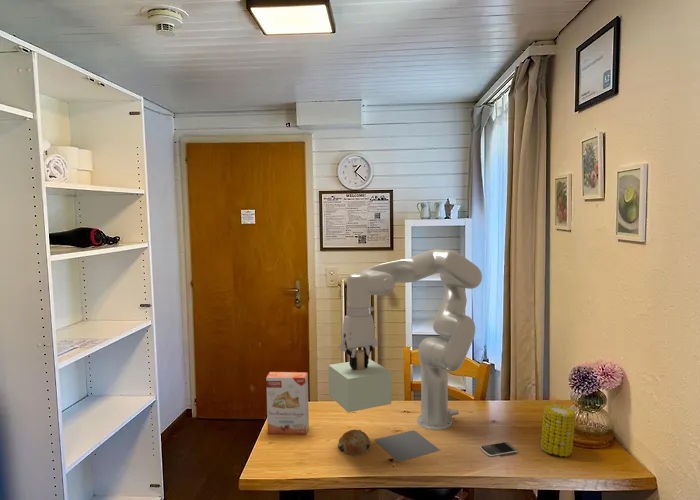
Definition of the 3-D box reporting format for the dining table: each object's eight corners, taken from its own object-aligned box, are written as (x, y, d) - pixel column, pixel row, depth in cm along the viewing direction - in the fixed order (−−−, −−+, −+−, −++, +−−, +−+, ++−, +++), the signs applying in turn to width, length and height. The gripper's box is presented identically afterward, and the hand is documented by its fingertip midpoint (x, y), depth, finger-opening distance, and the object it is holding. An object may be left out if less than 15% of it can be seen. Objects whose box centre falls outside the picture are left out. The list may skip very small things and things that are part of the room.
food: (535, 452, 155) (559, 448, 158) (561, 461, 144) (587, 457, 147) (530, 404, 157) (554, 401, 160) (556, 409, 146) (581, 406, 149)
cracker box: (267, 434, 167) (265, 376, 165) (271, 426, 173) (269, 371, 171) (306, 435, 166) (305, 377, 164) (309, 427, 172) (307, 371, 170)
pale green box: (369, 388, 165) (369, 342, 163) (391, 403, 151) (391, 354, 150) (328, 395, 158) (328, 348, 157) (348, 412, 144) (347, 361, 143)
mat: (414, 431, 168) (414, 429, 168) (440, 451, 153) (440, 450, 153) (373, 440, 161) (373, 439, 161) (397, 463, 147) (397, 462, 147)
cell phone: (478, 450, 155) (478, 446, 154) (508, 445, 158) (508, 441, 157) (489, 460, 149) (489, 455, 148) (519, 454, 152) (519, 450, 151)
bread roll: (361, 468, 151) (371, 447, 150) (332, 452, 152) (342, 432, 151) (366, 452, 161) (376, 433, 159) (339, 438, 162) (348, 418, 161)
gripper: (375, 307, 159) (375, 360, 161) (330, 311, 152) (331, 367, 154) (387, 311, 153) (386, 367, 154) (340, 316, 145) (340, 374, 147)
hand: (359, 367), depth 154 cm, fingers closed on pale green box, 3 cm apart
